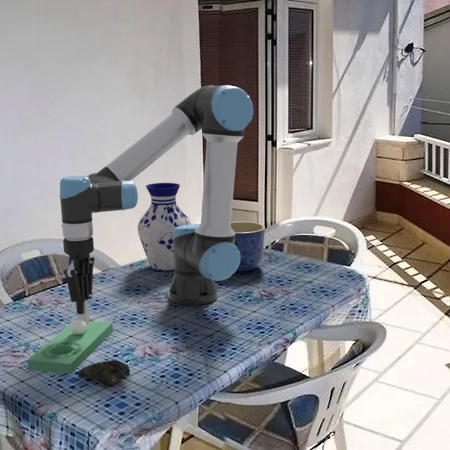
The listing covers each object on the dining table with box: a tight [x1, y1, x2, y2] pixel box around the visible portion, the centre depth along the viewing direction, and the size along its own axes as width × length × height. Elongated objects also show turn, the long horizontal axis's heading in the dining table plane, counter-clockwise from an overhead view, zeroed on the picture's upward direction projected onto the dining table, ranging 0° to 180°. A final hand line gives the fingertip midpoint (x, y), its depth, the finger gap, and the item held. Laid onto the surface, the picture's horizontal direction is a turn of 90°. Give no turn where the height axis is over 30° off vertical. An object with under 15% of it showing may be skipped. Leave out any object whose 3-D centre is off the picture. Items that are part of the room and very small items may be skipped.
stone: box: [77, 359, 131, 387], centre depth 140 cm, size 7×13×5 cm, turn 68°
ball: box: [70, 318, 86, 335], centre depth 159 cm, size 4×4×4 cm
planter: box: [231, 221, 266, 272], centre depth 219 cm, size 17×17×15 cm
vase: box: [137, 182, 191, 273], centre depth 219 cm, size 19×19×30 cm
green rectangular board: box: [27, 320, 114, 375], centre depth 156 cm, size 25×11×2 cm, turn 168°
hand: (83, 323), depth 162 cm, fingers closed
